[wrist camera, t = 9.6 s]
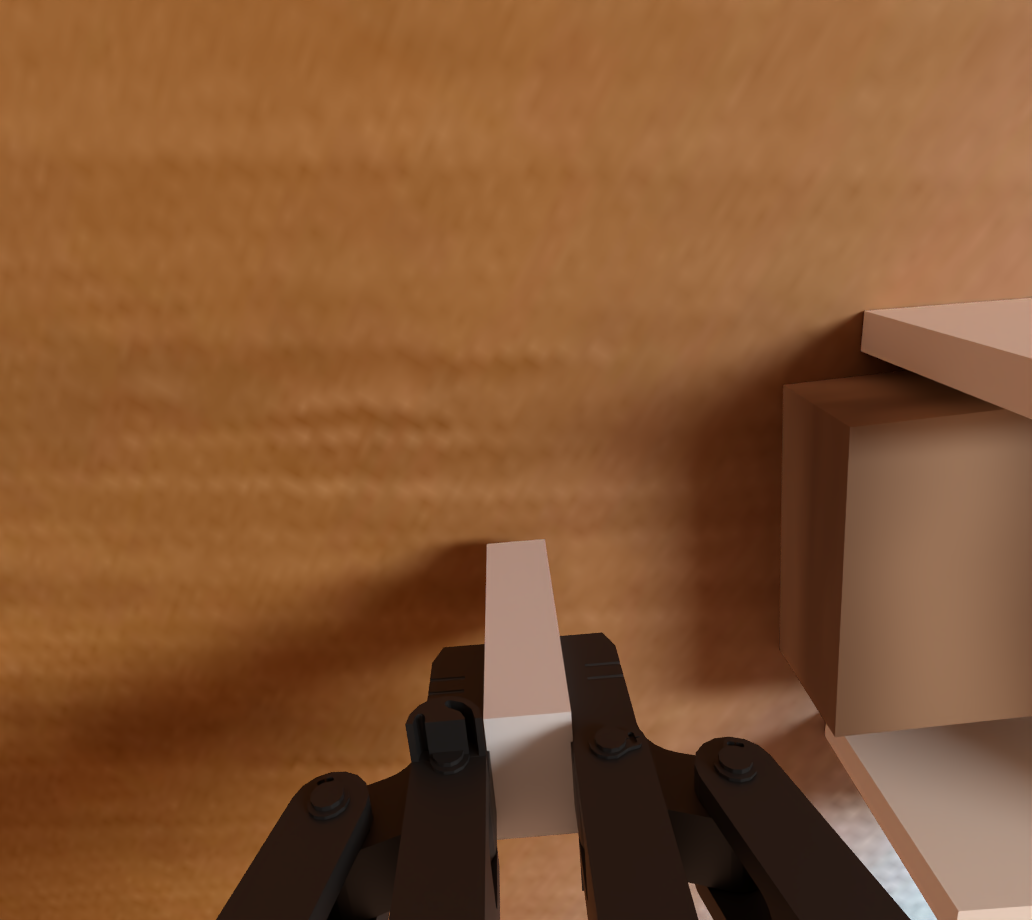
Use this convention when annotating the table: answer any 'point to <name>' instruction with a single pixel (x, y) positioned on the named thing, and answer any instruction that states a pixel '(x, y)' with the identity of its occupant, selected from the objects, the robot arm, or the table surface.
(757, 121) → the table surface
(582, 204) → the table surface
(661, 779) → the robot arm
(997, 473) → the walnut slab
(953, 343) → the hutch
